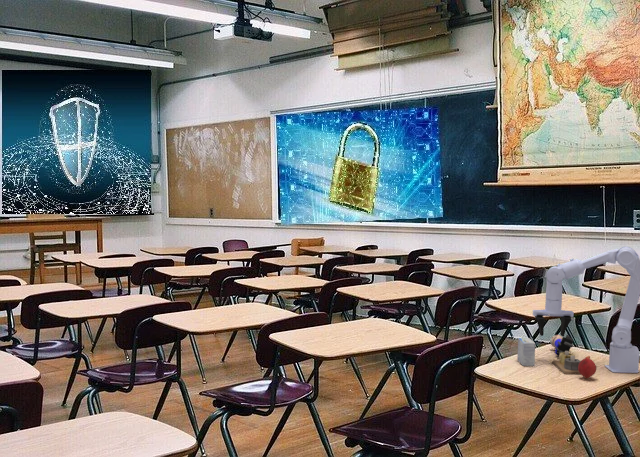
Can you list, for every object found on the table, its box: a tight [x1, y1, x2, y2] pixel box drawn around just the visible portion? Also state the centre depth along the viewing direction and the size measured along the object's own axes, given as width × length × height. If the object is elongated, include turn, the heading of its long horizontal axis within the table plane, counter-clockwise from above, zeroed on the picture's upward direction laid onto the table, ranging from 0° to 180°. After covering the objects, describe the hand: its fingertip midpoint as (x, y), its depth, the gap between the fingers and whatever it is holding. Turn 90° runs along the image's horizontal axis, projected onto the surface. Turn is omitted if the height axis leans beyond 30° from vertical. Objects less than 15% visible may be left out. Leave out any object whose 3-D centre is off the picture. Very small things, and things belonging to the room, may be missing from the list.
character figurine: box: [549, 334, 574, 355], centre depth 286 cm, size 8×7×15 cm
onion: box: [578, 355, 597, 380], centre depth 254 cm, size 6×6×8 cm
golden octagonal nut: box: [558, 352, 576, 365], centre depth 269 cm, size 5×5×4 cm
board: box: [551, 350, 582, 376], centre depth 266 cm, size 10×14×6 cm
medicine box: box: [516, 337, 536, 367], centre depth 272 cm, size 8×4×9 cm, turn 179°
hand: (551, 335), depth 274 cm, fingers open, 7 cm apart
